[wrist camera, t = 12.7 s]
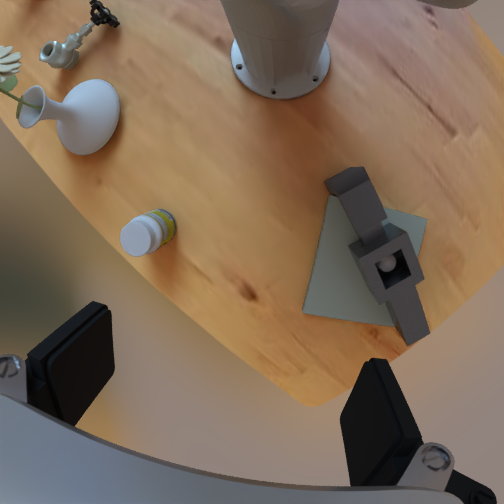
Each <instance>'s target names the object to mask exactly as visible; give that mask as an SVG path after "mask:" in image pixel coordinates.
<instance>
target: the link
mask: <svg viewBox="0 0 504 504" xmlns="http://www.w3.org/2000/svg"><path fill="white" fill-rule="evenodd" d="M356 234H357V233H356ZM357 236H358V238H359V240H357V241H355V242H353V243H352V244H350V245H348V248H349V250H350V252H351V254H352V256H353V258H354V260H355V262H356V264H357V267H358V269H359V271H360V273H361V275H362V277H363V280H364V282H365V284H366V286H367V288H368V289H369V291H370V292H371V294H372V295H373V297H374V298H375V300H376V301H377V303H378V304H379V305H381V304H382V303H384V302H385V304H386V306H387V309H388V311H389V314H390V316H391V319H392V321H393V324H394V326H395V328H396V329H397V331H398V332H399V334H400V335H401V337H402V338H403V340H404V342H405V343H406V345H407V346H409V345H411V344H413V343H415V342H416V341H418V340H420V339H422V338H423V337H425V336H427V335H428V334H430V331H429V327H428V324H427V321H426V317H425V314H424V311H423V308H422V305H421V302H420V299H419V296H418V293H417V290H416V287H415V285H416V284H417V283H419V282H421V281H422V280H424V276H423V273H422V270H421V267H420V264H419V262H418V259H417V256H416V253H415V251H414V248H413V245H412V243H411V240H410V238H409V235H408V233H407V231H405V230H403V229H401V228H399V227H397V226H395V225H393V224H392V223H390V222H389V223H388V224H386V225H384V226H383V225H382V223H381V222H380V223H378V224H376V225H374V226H372V227H371V228H369V229H367V230H365V231H363V232H361V233H360V234H357ZM391 254H392V255H393V256H394V257H395V259H396V265H395V267H394V269H393V270H391V271H389V272H384V271H382V270H381V269H378V270H377V268H376V266H375V263H377V262H379V261H380V260H382V259H384V258H386V257H387V256H389V255H391Z"/></svg>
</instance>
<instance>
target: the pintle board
mask: <svg viewBox="0 0 504 504" xmlns="http://www.w3.org/2000/svg"><path fill="white" fill-rule="evenodd" d="M324 183H325V185H326V186H327V188H328V190H329V192H331V193H333V194H335V195H337V196H333V195H328V200H327V205H326V210H325V215H324V219H323V224H322V229H321V233H320V238H319V242H318V247H317V251H316V255H315V260H314V264H313V268H312V272H311V276H310V281H309V285H308V289H307V293H306V297H305V301H304V304H303V308H302V311H303V313H305V314H311V315H317V316H323V317H329V318H335V319H342V320H348V321H355V322H362V323H369V324H376V325H383V326H391V327H394V324H393V321H392V319H391V316H390V314H389V311H388V309H387V306H386V304H385V302H384V303H382V304H381V305H379V304H378V303H377V301H376V300H375V298H374V297H373V295H372V294H371V292H370V291H369V289H368V288H367V286H366V284H365V282H364V280H363V277H362V275H361V273H360V271H359V269H358V267H357V264H356V262H355V260H354V258H353V256H352V254H351V252H350V250H349V248H348V245H350V244H352V243H353V242H355V241H357V240H359V238H358V236H357V234H360V233H361V232H363V231H365V230H367V229H369V228H371V227H372V226H374V225H376V224H378V223H380V222H381V223H382V225H383V226H384V225H386V224H388V223H389V222H390V223H392V224H393V225H395V226H397V227H399V228H401V229H403V230H405V231H407V233H408V235H409V238H410V240H411V243H412V245H413V248H414V251H415V253H416V256H417V257H418V254H419V250H420V247H421V243H422V239H423V235H424V231H425V227H426V223H427V219H425V218H422V217H418V216H414V215H411V214H407V213H403V212H399V211H396V210H392V209H388V208H384V207H383V206H382V204H381V202H380V199H379V197H378V195H377V193H376V191H375V189H374V187H373V185H372V183H371V181H370V179H369V177H368V175H367V173H366V171H365V169H364V167H350V168H348V169H346V170H345V171H343V172H341V173H339V174H337V175H335V176H333V177H331V178H330V179H328V180H326V181H324ZM356 233H357V234H356ZM395 265H396V259H395V257H394V256H393V255H392V254H391V255H389V256H387V257H386V258H384V259H382V260H380V261H379V262H377V263H375V266H376V268H377V270H378V269H381V270H382V271H384V272H389V271H391V270H393V269H394V267H395Z"/></svg>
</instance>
